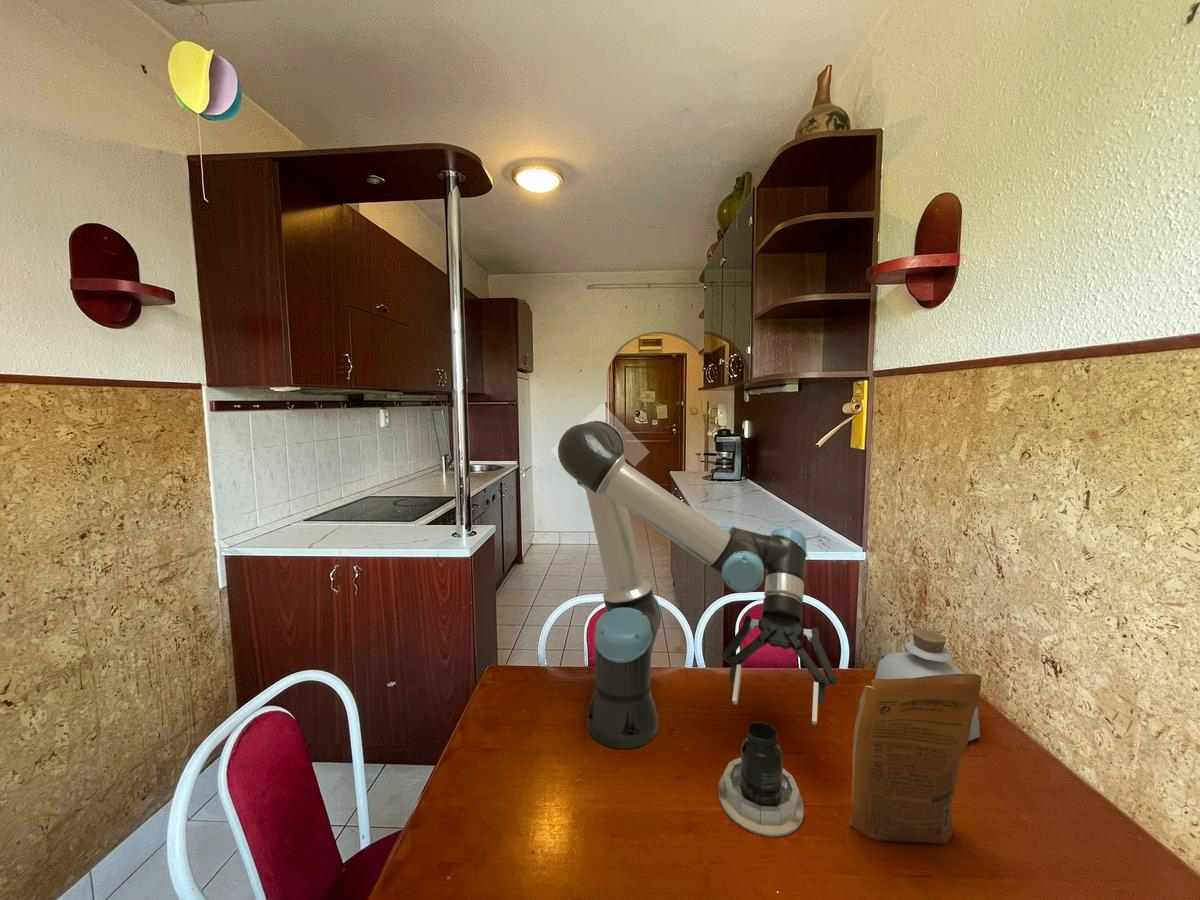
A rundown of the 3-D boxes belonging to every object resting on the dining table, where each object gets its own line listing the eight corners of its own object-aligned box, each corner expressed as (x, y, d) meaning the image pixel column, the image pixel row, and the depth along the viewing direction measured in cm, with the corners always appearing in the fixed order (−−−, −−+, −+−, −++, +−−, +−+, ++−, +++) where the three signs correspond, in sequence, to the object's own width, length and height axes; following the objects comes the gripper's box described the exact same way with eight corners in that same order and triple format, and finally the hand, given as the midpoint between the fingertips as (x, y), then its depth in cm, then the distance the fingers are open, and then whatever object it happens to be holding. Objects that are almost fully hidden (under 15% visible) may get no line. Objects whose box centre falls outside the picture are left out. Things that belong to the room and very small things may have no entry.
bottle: (963, 766, 93) (972, 672, 91) (856, 713, 108) (862, 632, 106) (993, 722, 105) (1001, 639, 103) (893, 680, 121) (898, 607, 118)
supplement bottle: (782, 787, 86) (786, 724, 85) (779, 817, 80) (782, 750, 79) (742, 774, 89) (745, 713, 88) (736, 802, 83) (739, 737, 82)
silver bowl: (706, 810, 83) (707, 791, 82) (732, 759, 94) (733, 742, 94) (793, 852, 75) (794, 832, 75) (810, 791, 87) (811, 773, 86)
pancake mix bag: (981, 856, 75) (999, 684, 71) (853, 849, 76) (864, 679, 72) (952, 818, 81) (967, 659, 78) (835, 812, 82) (844, 655, 79)
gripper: (849, 619, 98) (848, 736, 86) (723, 597, 108) (706, 699, 96) (853, 604, 92) (852, 727, 81) (719, 582, 102) (701, 689, 91)
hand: (773, 712), depth 89 cm, fingers open, 13 cm apart
